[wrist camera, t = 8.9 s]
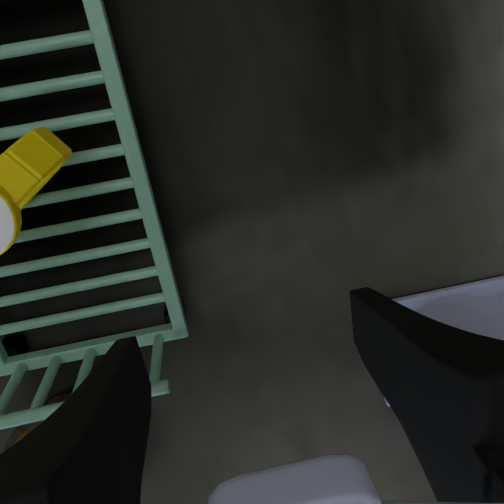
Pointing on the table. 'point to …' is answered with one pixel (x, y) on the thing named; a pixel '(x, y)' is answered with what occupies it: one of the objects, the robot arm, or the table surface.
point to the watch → (26, 177)
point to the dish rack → (15, 347)
